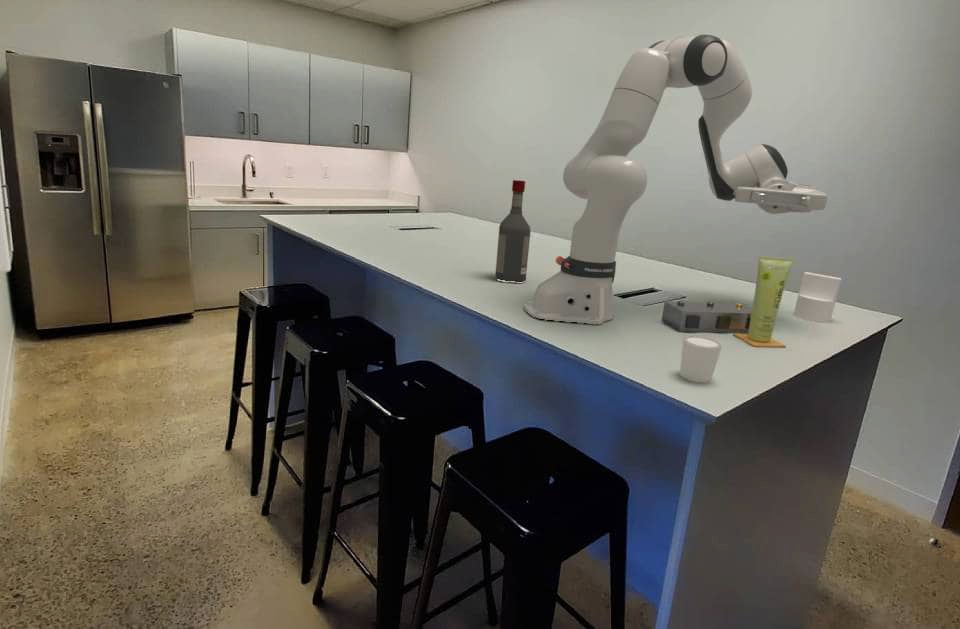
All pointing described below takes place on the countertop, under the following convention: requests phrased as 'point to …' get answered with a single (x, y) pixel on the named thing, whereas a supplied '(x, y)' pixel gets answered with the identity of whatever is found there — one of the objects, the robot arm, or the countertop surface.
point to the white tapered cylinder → (699, 358)
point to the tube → (768, 296)
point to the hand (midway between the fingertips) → (783, 199)
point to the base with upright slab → (817, 297)
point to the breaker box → (707, 316)
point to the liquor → (513, 240)
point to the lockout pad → (759, 344)
